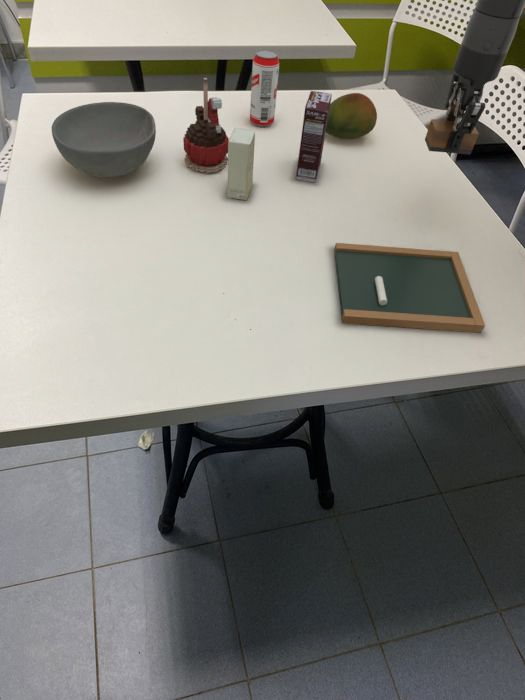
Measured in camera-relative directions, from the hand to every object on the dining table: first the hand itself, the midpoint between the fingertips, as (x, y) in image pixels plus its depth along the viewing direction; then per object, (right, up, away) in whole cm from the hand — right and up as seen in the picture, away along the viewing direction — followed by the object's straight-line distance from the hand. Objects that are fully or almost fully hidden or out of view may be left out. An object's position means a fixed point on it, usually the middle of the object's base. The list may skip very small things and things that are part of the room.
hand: (448, 143), depth 94 cm
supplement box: (-25, +1, +18) cm, 31 cm away
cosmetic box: (-40, -6, +11) cm, 42 cm away
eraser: (0, 0, +1) cm, 1 cm away
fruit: (-15, +14, +30) cm, 36 cm away
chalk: (-15, -30, -8) cm, 34 cm away
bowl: (-68, 0, +13) cm, 69 cm away
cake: (-48, +2, +17) cm, 51 cm away
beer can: (-36, +18, +32) cm, 51 cm away
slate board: (-11, -28, -5) cm, 31 cm away
